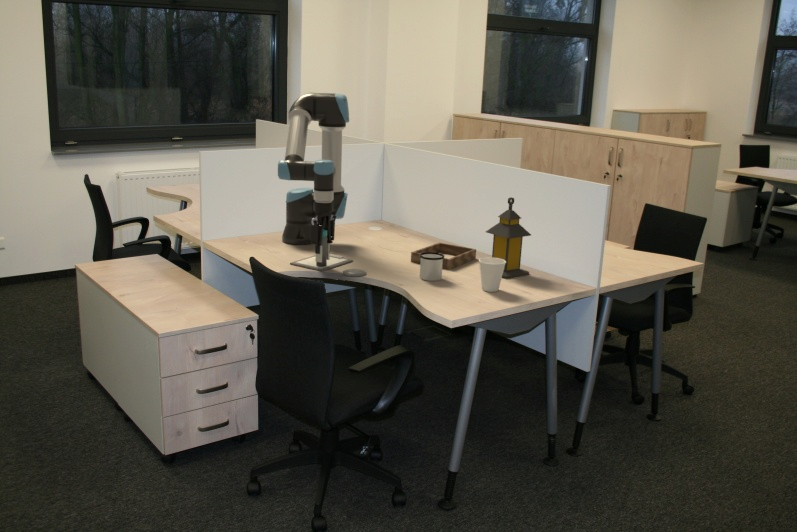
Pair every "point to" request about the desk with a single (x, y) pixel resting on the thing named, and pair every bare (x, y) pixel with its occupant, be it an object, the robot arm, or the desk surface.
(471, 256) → the wooden frame
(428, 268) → the mug
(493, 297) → the desk surface
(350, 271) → the coaster
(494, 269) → the cup
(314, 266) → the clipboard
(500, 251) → the lantern
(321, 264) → the marker
